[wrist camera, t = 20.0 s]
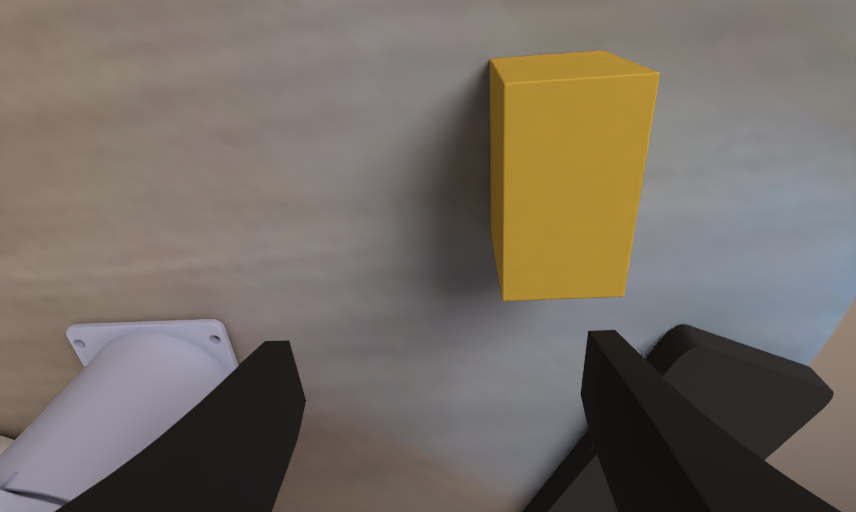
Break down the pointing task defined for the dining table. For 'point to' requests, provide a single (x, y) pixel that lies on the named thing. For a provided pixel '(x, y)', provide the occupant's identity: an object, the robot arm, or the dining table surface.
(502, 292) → the yellow block
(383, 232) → the dining table surface
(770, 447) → the smart home device
